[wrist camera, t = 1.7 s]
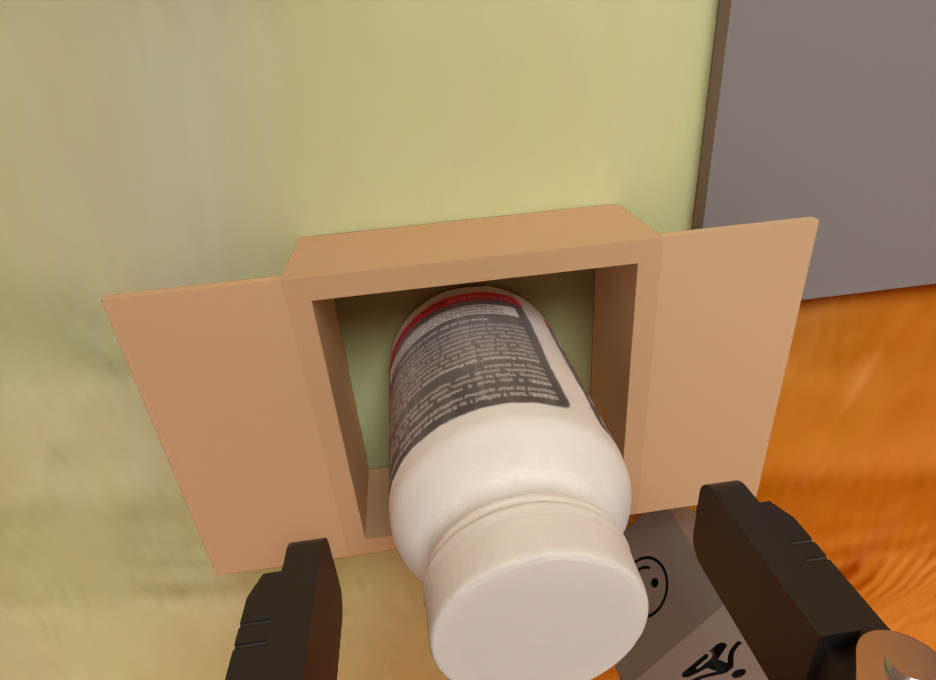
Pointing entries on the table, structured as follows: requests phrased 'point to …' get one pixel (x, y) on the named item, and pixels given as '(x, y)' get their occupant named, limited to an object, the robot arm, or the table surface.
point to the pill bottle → (508, 495)
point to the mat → (827, 134)
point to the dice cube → (681, 609)
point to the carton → (446, 263)
